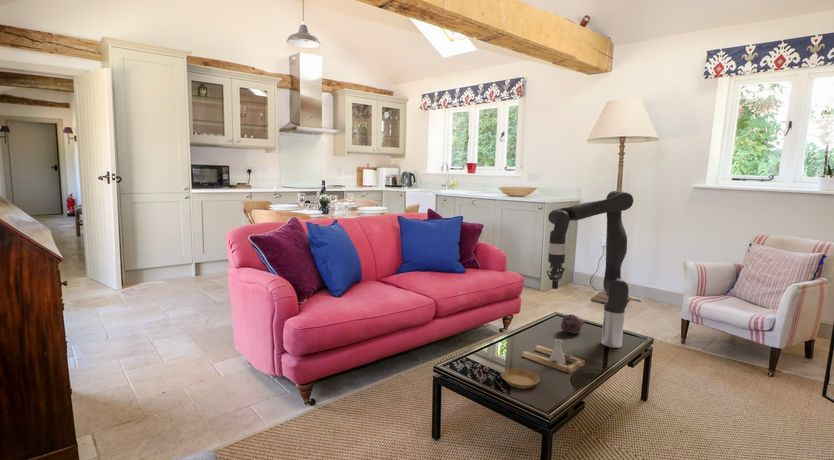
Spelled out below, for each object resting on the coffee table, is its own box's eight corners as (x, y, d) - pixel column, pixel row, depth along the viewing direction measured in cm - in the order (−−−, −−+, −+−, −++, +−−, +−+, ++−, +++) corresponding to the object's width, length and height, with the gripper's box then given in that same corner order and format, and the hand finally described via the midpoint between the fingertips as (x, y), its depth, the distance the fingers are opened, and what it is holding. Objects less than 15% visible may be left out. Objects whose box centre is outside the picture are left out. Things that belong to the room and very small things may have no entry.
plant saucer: (546, 382, 177) (546, 376, 177) (526, 395, 167) (527, 388, 166) (513, 370, 187) (514, 365, 187) (493, 382, 177) (494, 375, 176)
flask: (556, 367, 192) (557, 344, 190) (545, 360, 198) (546, 339, 197) (569, 364, 195) (570, 342, 193) (557, 358, 201) (559, 336, 200)
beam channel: (538, 349, 211) (538, 344, 211) (584, 364, 194) (584, 359, 194) (522, 356, 202) (522, 351, 202) (569, 373, 185) (570, 368, 185)
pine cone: (569, 339, 224) (570, 320, 223) (552, 333, 232) (553, 315, 231) (588, 332, 235) (589, 314, 234) (571, 327, 243) (573, 309, 242)
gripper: (556, 250, 216) (554, 285, 218) (542, 253, 207) (540, 289, 209) (571, 252, 210) (569, 287, 212) (557, 255, 201) (555, 292, 203)
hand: (554, 288), depth 211 cm, fingers closed
